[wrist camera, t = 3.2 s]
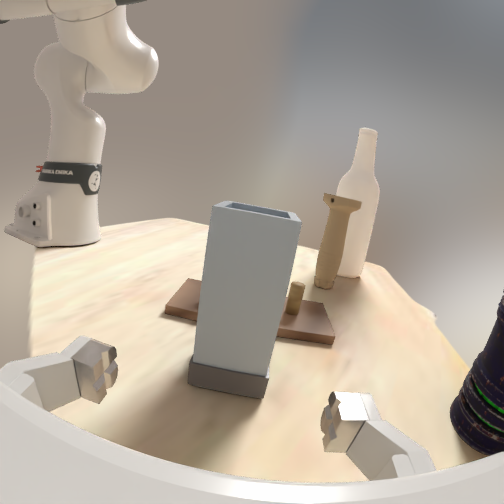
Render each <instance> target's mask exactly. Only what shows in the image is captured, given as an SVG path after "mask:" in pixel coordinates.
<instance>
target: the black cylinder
mask: <svg viewBox="0 0 504 504" xmlns="http://www.w3.org/2000/svg"><path fill="white" fill-rule="evenodd" d="M503 292H504V291H503ZM497 316H498V318H497V320H496V323H495V325H494V327H493V330H492V332H491V335H490V337H489V339H488V341H487V344H486V346H485V348H484V350H483V351H482V352H481V353H479V355H478V356H477V358H476V359H475V361H474V363H473V367H472V369H471V370H470V371H469V373H468V375H467V376H466V378H465V380H464V383H463V386H462V388H461V390H460V392H459V395H458V396H457V397H456V398H455V400H454V401H453V403H452V405H451V408H450V418H451V422H452V424H453V426H454V428H455V430H456V432H457V433H458V434H459V436H460V437H461V438H462V439H463V440H464V441H465V442H466V443H467V444H468V445H469V446H471V447H472V448H473V449H475V450H477V451H479V452H481V453H483V454H485V455H488V456H491V455H494V454H496V453H500V452H504V296H502V299H501V302H500V303H499V307H498V310H497Z"/></svg>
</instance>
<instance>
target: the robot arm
mask: <svg viewBox="0 0 504 504" xmlns="http://www.w3.org/2000/svg"><path fill="white" fill-rule="evenodd" d="M143 1H146V0H0V24H2V23H6V22H7V21H9V20H10V19H20V18H30V17H37V16H45V15H51V14H53V16H54V21H55V26H56V30H57V36H58V39H59V42H56V43H52V44H49V45H47V46H46V47H45V48H44V49H43V50H42V51H41V53H40V54H39V56H38V58H37V60H36V62H35V66H34V77H35V81H36V83H37V85H38V86H39V87H40V88H41V89H42V91H43V92H44V93H45V95H46V97H47V99H48V102H49V105H50V111H51V130H50V139H49V147H48V154H47V161H54V162H45V163H44V165H43V166H37V167H38V168H40V170H37V171H36V172H41V173H40V176H39V178H38V179H39V181H38V182H37V183H36V184H35V185H34V186H33V187H32V188H31V189H30V190H29V191H28V192H27V193H26V194H25V195H24V196H23V197H22V198H21V199H20V200H19V201H18V202H17V205H16V209H15V219H14V220H15V221H14V223H12V224H9V225H8V226H6V227H5V230H4V231H5V233H8V234H10V235H12V236H14V237H16V238H18V239H21V240H23V241H25V242H27V243H29V244H32V245H34V246H37V247H46V246H73V245H83V244H89V243H93V242H96V241H98V240H100V239H101V237H102V236H101V232H100V227H99V220H98V200H97V199H98V191H99V187H100V181H101V172H102V165H101V164H100V162H101V156H102V150H103V144H104V138H105V132H106V125H105V122H104V120H103V118H102V117H101V116H100V115H99V114H97V113H96V112H95V111H93V110H92V109H90V108H89V107H87V106H85V105H84V102H83V99H84V94H85V93H88V92H95V93H110V94H124V93H125V94H126V93H136V92H142V91H144V90H145V89H146V88H147V87H148V86H149V85H150V84H151V83H152V82H153V80H154V79H155V77H156V74H157V71H158V65H159V61H158V57H157V54H156V52H155V50H154V49H153V48H152V47H151V46H149V45H147V44H145V43H144V42H142V41H141V40H140V39H138V38H137V37H136V36H135V35H134V33H133V32H132V31H131V30H130V28H129V27H128V24H127V22H126V5H128V4H134V3H139V2H143ZM91 163H92V164H91ZM116 357H117V353H116V348H115V347H113V346H111V345H108V344H105V343H102V342H100V341H97V340H95V339H92V338H89V337H86V336H84V335H81V336H79V337H78V338H77V339H76V340H74V341H73V342H72V343H71V344H70V345H69V346H68V347H66V348H65V349H64V350H63V351H62V352H61V353H60V354H59V353H57V352H56V353H51V354H47V355H42V356H37V357H32V358H27V359H22V360H17V361H12V362H8V363H7V364H6V365H5V366H3V367H2V368H1V369H0V504H504V452H500V453H496V454H494V455H491V456H488V457H485V458H482V459H479V460H476V461H473V462H469V463H466V464H462V465H459V466H455V467H451V468H447V469H443V470H438V471H437V470H436V468H435V466H434V464H433V462H432V459H431V457H430V455H429V453H428V451H427V450H426V449H425V448H423V447H422V446H420V445H419V444H417V443H416V442H415V441H413V440H412V439H410V438H409V437H408V436H406V435H405V434H403V433H402V432H401V431H399V430H398V429H397V428H395V427H394V426H392V425H391V424H390V423H388V422H387V421H386V420H382V419H381V416H380V414H379V411H378V409H377V407H376V404H375V402H374V399H373V397H372V395H371V394H370V393H346V392H332V393H331V394H330V397H329V399H328V401H329V405H328V406H327V407H325V408H324V410H323V413H322V416H321V425H320V426H321V431H322V432H323V433H324V434H325V435H324V437H323V445H324V452H338V453H346V455H347V456H348V457H349V458H350V459H351V460H352V461H353V463H354V464H355V465H356V466H357V467H358V468H359V469H360V470H361V472H362V473H363V474H364V475H365V476H366V477H367V478H368V479H369V481H360V482H337V483H312V482H289V481H276V480H265V479H256V478H249V477H242V476H235V475H229V474H223V473H218V472H213V471H208V470H203V469H198V468H194V467H190V466H186V465H182V464H178V463H174V462H171V461H167V460H164V459H160V458H157V457H154V456H150V455H147V454H144V453H141V452H138V451H135V450H132V449H130V448H127V447H124V446H122V445H119V444H116V443H114V442H111V441H109V440H106V439H104V438H101V437H99V436H97V435H94V434H92V433H90V432H88V431H86V430H83V429H81V428H79V427H77V426H75V425H73V424H71V423H69V422H67V421H65V420H63V419H61V418H59V417H57V416H55V415H53V414H52V413H50V412H49V411H52V410H54V409H56V408H59V407H61V406H63V405H66V404H68V403H70V402H72V401H75V400H77V399H79V398H81V397H83V398H85V399H87V400H90V401H93V402H95V403H98V404H100V403H101V401H102V400H103V398H104V397H105V396H106V394H107V391H106V389H108V388H111V387H112V386H113V385H114V383H115V381H116V378H117V374H118V365H117V364H116V362H115V361H114V359H115V358H116Z"/></svg>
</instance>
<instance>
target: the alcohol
mask: <svg viewBox="0 0 504 504" xmlns="http://www.w3.org/2000/svg"><path fill="white" fill-rule="evenodd" d="M359 131H360V133H359V135H358V136H359V139H358V143H357V147H356V152H355V155H354V159H353V163H352V167H351V169H350V171H348V172H347V173H346V174H345V175H344V176H343V177H342V178H341V180H340V182H339V184H338V189H337V194H336V196H340V197H344V198H349V199H353V200H357V201H361V202H362V204H361V208H360V209H359V210H357V211H354V212H352V213H351V214H350V217H349V222H348V228H347V233H346V239H345V245H344V251H343V255H342V259H341V263H340V267H339V270H338V273H337V275H338V276H342V277H347V278H356V277H358V276H359V275H360V274H361V273H362V269H363V266H364V262H365V258H366V254H367V250H368V246H369V242H370V238H371V234H372V229H373V224H374V220H375V216H376V211H377V206H378V201H379V196H380V189H379V185H378V182H377V180H376V178H375V175H374V165H375V153H376V141H377V135H378V133H377V132H376V131H375V130H372V129H368V128H361V129H359Z"/></svg>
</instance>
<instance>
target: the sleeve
mask: <svg viewBox="0 0 504 504" xmlns="http://www.w3.org/2000/svg"><path fill="white" fill-rule="evenodd" d="M301 225H302V222H301V220H300V219H299V218H298V216H297V215H296V214H295V213H292V212H287V211H282V210H276V209H271V208H265V207H260V206H255V205H249V204H244V203H238V202H232V201H224V202H221V203H218V204H216V205H213V206H212V213H211V219H210V226H209V232H208V239H207V246H206V253H205V261H204V268H203V276H202V284H201V291H200V300H199V308H198V317H197V326H196V335H195V345H194V354H193V356H192V358H191V360H190V363H189V373H188V384H191V385H195V386H199V387H203V388H208V389H212V390H217V391H222V392H227V393H232V394H237V395H243V396H249V397H255V398H264V394H265V391H266V387H267V383H268V380H269V363H270V359H271V355H272V352H273V348H274V344H275V340H276V336H277V332H278V327H279V323H280V319H281V315H282V311H283V307H284V302H285V298H286V294H287V289H288V285H289V281H290V276H291V272H292V267H293V263H294V258H295V253H296V249H297V244H298V239H299V234H300V229H301Z"/></svg>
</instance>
